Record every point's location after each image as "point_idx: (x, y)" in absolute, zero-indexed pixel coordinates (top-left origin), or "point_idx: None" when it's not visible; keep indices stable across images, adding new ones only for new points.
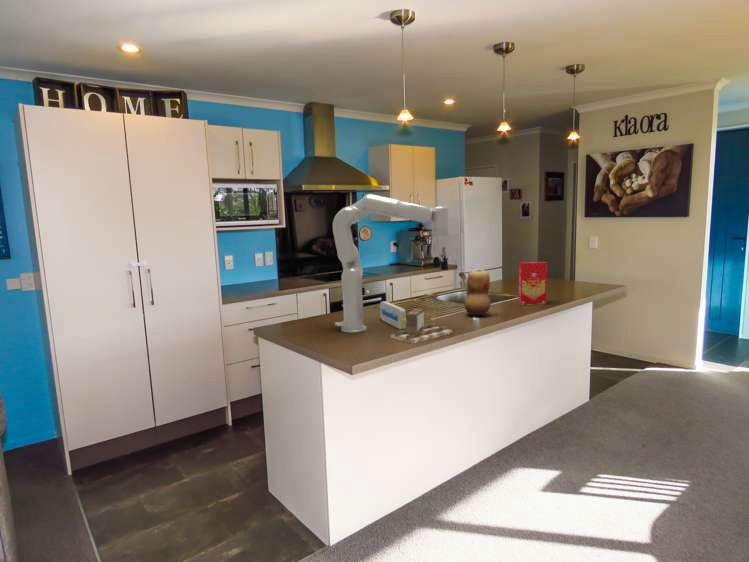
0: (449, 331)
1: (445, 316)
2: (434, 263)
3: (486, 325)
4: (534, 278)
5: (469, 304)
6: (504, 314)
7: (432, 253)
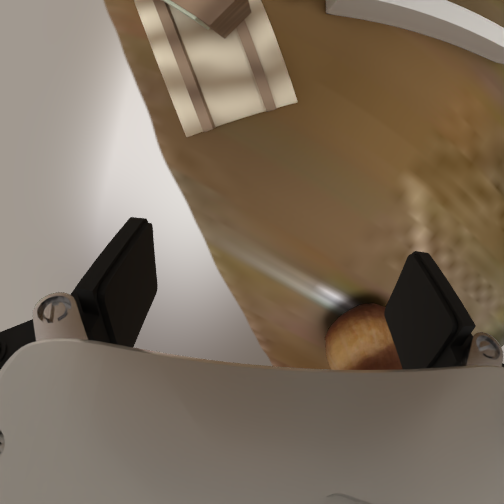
0: (181, 121)
1: (413, 241)
2: (427, 294)
3: (238, 279)
4: None
5: (363, 321)
6: (322, 366)
7: (494, 412)
